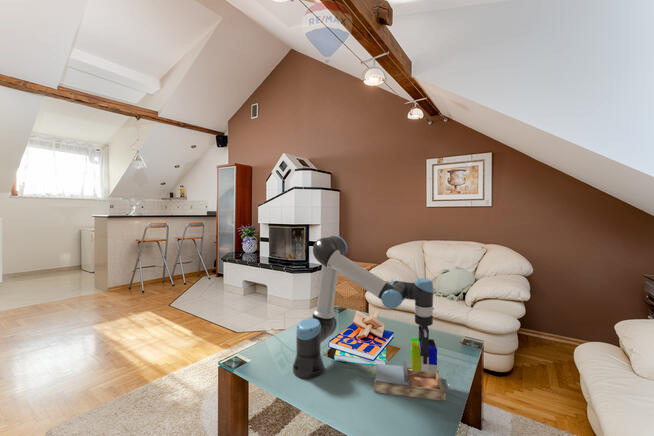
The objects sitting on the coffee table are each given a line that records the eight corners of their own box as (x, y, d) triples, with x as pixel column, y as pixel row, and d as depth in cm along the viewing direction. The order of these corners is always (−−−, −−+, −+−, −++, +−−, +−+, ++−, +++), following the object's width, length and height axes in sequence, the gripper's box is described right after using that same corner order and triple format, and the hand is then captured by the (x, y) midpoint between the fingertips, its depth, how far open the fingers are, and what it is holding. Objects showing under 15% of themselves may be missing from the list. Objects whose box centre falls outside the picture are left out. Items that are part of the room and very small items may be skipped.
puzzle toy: (436, 372, 127) (437, 349, 127) (412, 370, 129) (412, 347, 129) (433, 361, 137) (433, 339, 137) (410, 358, 139) (410, 337, 139)
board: (374, 391, 129) (374, 384, 129) (375, 369, 147) (375, 363, 147) (445, 400, 123) (445, 392, 123) (438, 376, 141) (438, 369, 141)
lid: (375, 381, 131) (375, 373, 131) (376, 365, 144) (376, 357, 144) (408, 385, 128) (408, 376, 128) (406, 368, 142) (406, 360, 142)
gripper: (436, 324, 121) (436, 379, 122) (429, 306, 143) (428, 352, 144) (417, 323, 122) (416, 377, 123) (412, 305, 144) (412, 351, 145)
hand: (423, 364), depth 133 cm, fingers closed on puzzle toy, 10 cm apart
